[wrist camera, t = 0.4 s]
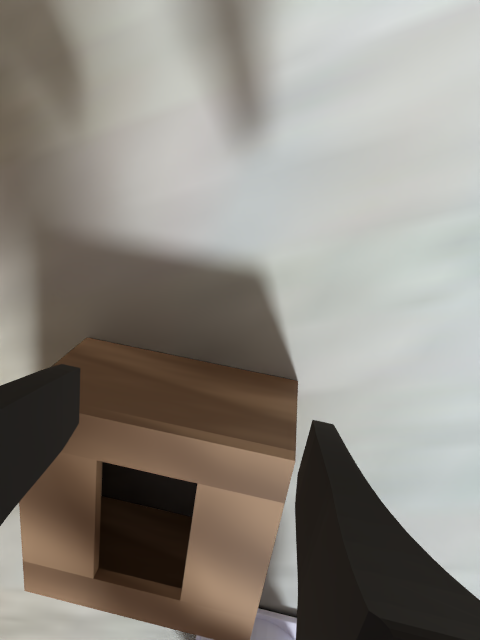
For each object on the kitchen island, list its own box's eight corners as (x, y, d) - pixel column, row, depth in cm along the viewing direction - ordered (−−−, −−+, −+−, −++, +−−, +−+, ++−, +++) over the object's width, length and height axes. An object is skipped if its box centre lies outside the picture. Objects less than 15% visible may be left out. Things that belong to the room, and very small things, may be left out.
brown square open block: (260, 540, 27) (247, 648, 21) (84, 498, 28) (24, 590, 22) (297, 380, 23) (295, 461, 17) (86, 337, 24) (12, 398, 18)
